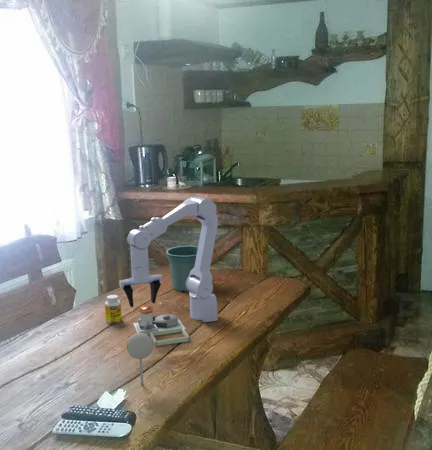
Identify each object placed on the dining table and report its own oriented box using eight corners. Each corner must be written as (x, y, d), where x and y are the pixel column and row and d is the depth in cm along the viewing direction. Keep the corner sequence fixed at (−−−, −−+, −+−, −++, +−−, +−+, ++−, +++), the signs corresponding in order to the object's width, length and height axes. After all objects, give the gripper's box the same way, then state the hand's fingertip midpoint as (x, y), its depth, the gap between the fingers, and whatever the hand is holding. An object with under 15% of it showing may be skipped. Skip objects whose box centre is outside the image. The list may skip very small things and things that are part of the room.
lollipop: (130, 379, 172) (126, 329, 169) (155, 377, 173) (152, 328, 170) (128, 391, 165) (125, 339, 162) (154, 389, 166) (152, 337, 163)
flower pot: (206, 293, 246) (205, 255, 243) (166, 294, 247) (164, 256, 243) (207, 281, 262) (206, 245, 259) (169, 282, 263) (168, 246, 259)
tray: (182, 334, 204) (182, 327, 204) (189, 344, 195) (189, 337, 195) (150, 338, 201) (149, 331, 200) (155, 349, 192) (155, 342, 192)
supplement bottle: (110, 327, 212) (108, 300, 210) (103, 323, 216) (101, 296, 214) (124, 324, 215) (122, 296, 213) (118, 319, 219) (116, 292, 217)
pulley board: (177, 320, 217) (177, 309, 216) (185, 332, 206) (185, 321, 205) (133, 326, 212) (132, 315, 212) (139, 338, 201) (138, 327, 200)
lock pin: (152, 327, 208) (151, 304, 206) (155, 331, 204) (154, 309, 202) (139, 328, 207) (138, 306, 205) (141, 333, 202) (140, 310, 201)
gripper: (156, 259, 208) (159, 297, 210) (115, 265, 202) (118, 304, 205) (163, 264, 201) (165, 303, 204) (121, 270, 196) (124, 310, 198)
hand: (142, 304), depth 204 cm, fingers open, 7 cm apart
